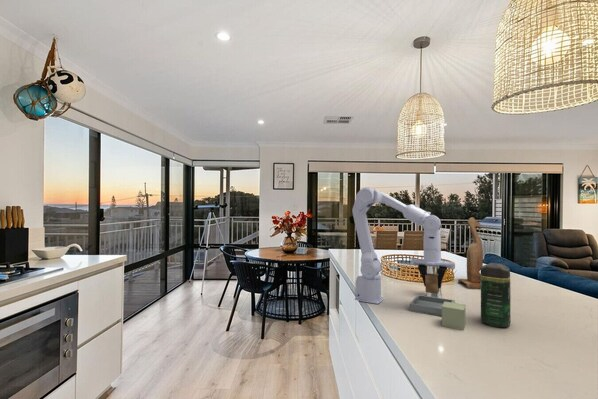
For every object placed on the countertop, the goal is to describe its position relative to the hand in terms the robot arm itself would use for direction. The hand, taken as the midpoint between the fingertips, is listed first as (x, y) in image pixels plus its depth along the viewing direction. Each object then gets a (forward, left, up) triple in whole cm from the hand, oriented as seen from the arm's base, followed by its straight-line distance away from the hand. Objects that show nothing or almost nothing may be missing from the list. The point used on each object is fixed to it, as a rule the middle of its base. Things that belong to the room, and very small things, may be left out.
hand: (432, 286), depth 109 cm
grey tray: (0, 0, -8) cm, 8 cm away
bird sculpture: (+11, +44, -8) cm, 46 cm away
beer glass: (-2, +16, -8) cm, 18 cm away
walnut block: (0, 0, -2) cm, 2 cm away
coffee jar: (+19, -3, -8) cm, 21 cm away
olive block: (+8, -12, -8) cm, 17 cm away
